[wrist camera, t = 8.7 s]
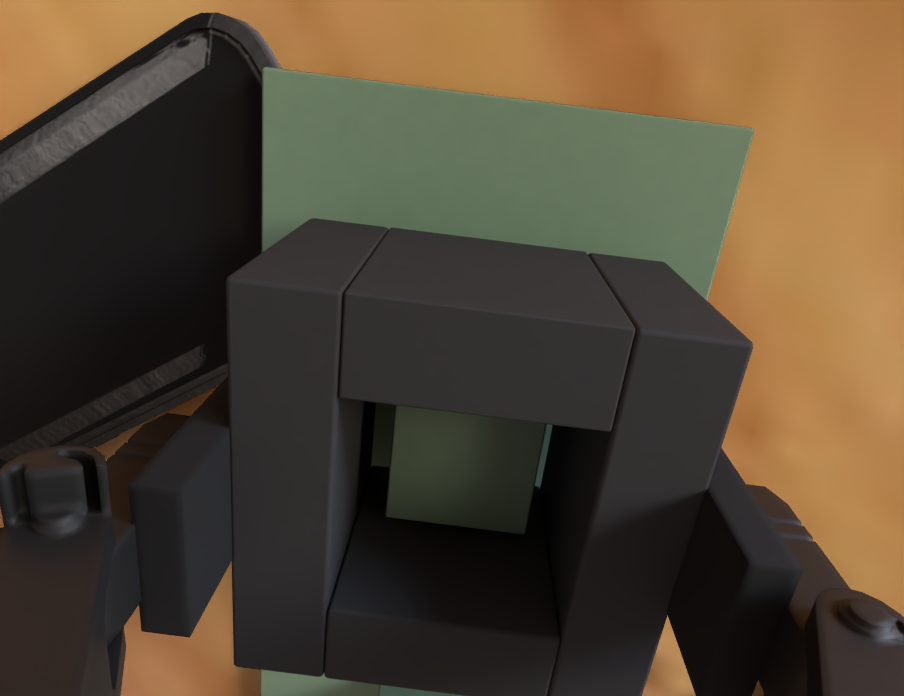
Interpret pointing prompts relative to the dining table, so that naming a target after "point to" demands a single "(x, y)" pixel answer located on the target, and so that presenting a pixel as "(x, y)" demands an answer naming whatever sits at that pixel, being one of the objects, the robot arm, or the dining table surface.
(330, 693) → the base pad
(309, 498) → the black square frame
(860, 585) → the dining table surface
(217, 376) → the phone
